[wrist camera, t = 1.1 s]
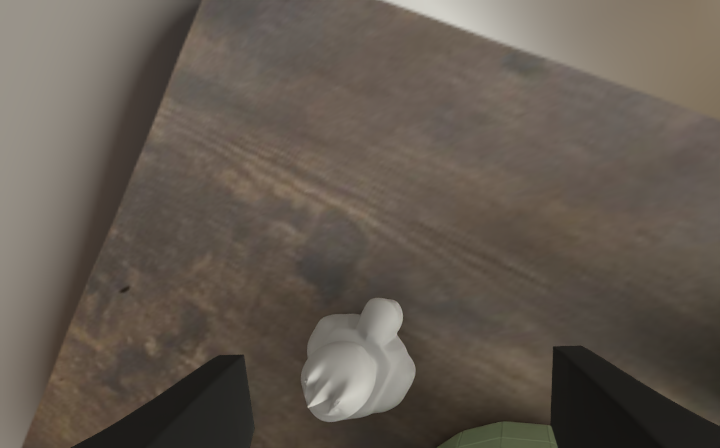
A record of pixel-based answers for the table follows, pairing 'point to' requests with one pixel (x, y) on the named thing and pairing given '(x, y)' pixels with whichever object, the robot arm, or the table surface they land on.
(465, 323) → the table surface
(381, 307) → the white rounded lump
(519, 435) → the bowl
